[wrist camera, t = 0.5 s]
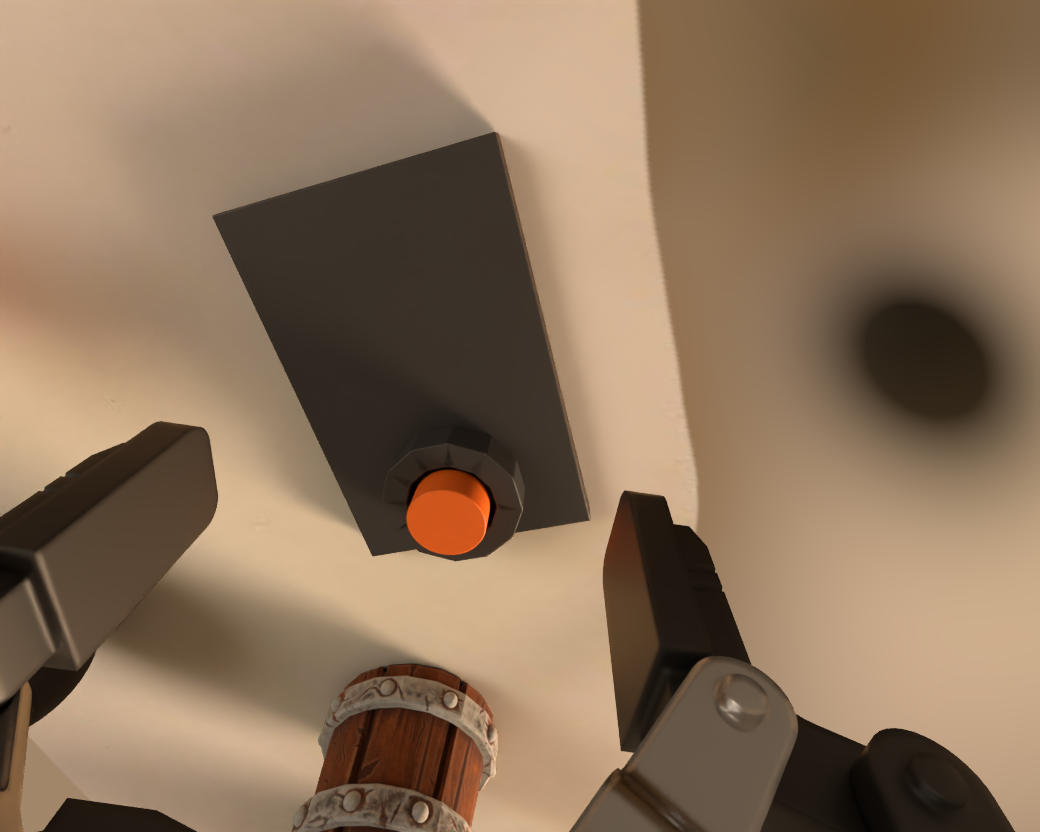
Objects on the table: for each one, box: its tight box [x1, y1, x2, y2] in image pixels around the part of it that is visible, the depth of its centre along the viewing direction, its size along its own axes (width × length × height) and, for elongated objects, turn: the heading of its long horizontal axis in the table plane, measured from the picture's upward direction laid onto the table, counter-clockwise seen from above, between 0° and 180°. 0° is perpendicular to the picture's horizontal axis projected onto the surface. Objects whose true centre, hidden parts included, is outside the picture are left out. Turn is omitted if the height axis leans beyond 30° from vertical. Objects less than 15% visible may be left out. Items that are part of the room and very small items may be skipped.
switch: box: [406, 469, 490, 555], centre depth 25 cm, size 4×4×2 cm
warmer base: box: [213, 132, 590, 561], centre depth 24 cm, size 18×12×3 cm, turn 14°
